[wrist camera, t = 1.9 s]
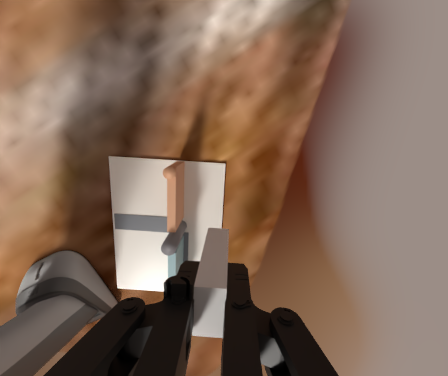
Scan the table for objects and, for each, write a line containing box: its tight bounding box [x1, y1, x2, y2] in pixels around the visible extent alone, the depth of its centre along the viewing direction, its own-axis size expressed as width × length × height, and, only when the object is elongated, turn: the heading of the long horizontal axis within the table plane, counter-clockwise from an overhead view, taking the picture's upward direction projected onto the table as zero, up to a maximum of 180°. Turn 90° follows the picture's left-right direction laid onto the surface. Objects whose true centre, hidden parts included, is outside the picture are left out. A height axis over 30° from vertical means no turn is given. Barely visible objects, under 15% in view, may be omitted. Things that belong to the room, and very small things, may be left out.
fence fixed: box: [161, 220, 187, 278], centre depth 32 cm, size 11×2×7 cm, turn 177°
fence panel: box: [163, 161, 185, 232], centre depth 29 cm, size 8×1×6 cm, turn 177°
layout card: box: [109, 156, 226, 292], centre depth 34 cm, size 21×16×1 cm
